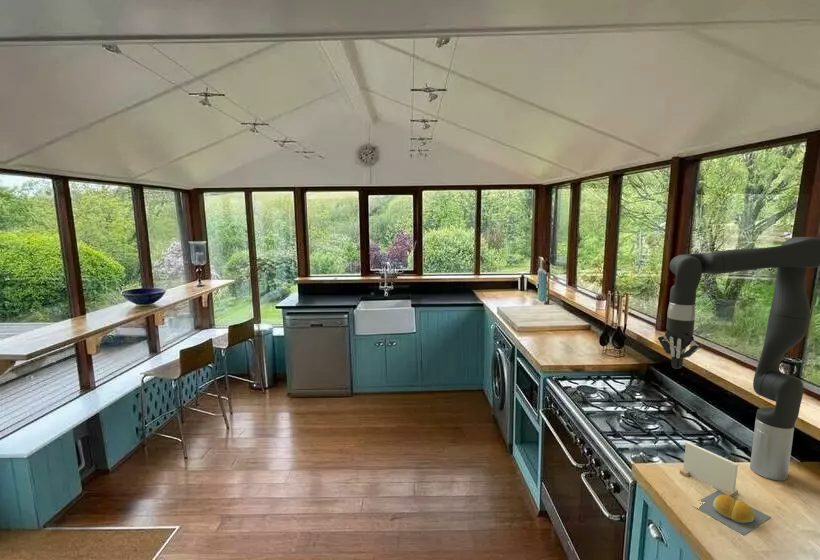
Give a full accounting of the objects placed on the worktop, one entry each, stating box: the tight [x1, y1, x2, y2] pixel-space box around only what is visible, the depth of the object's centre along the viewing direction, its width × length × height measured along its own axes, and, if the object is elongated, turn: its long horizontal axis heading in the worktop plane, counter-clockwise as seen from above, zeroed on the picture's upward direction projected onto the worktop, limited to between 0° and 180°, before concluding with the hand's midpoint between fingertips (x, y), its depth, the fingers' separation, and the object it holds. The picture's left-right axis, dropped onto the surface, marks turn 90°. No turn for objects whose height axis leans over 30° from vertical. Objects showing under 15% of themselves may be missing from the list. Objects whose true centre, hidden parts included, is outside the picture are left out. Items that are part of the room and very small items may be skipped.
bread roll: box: [713, 495, 755, 523], centre depth 116 cm, size 8×9×4 cm
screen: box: [679, 441, 739, 498], centre depth 129 cm, size 5×14×10 cm, turn 27°
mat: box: [698, 489, 771, 536], centre depth 118 cm, size 14×13×1 cm
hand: (676, 368), depth 139 cm, fingers closed
